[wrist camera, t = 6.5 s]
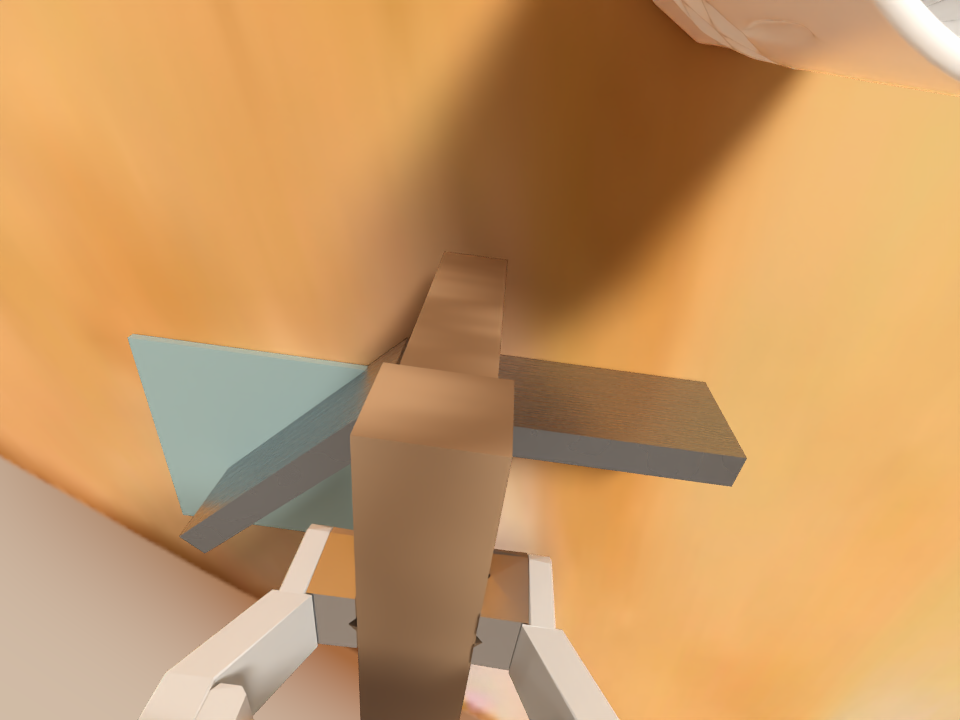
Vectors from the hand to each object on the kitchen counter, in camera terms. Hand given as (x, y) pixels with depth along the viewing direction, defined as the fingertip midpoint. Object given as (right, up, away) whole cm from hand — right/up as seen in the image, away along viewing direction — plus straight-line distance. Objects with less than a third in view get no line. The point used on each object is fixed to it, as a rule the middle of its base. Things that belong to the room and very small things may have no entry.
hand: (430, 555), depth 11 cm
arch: (0, +3, +5) cm, 6 cm away
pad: (-8, +1, +10) cm, 13 cm away
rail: (0, +1, +9) cm, 9 cm away
